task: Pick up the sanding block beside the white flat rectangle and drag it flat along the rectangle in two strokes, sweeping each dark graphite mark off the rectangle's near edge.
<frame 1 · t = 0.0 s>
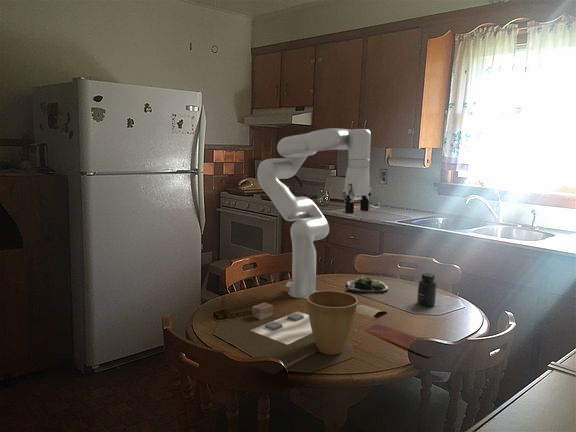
hand: (357, 212, 169), 37 cm above the table, tool pointing down, fingers open, 9 cm apart
clay tablet: (367, 316, 170), on the table
plant pot: (330, 350, 140), on the table
sanding block: (262, 319, 163), on the table
graphite mark a: (295, 318, 161), point 1 cm above the table, touching white flat rectangle
white flat rectangle: (293, 329, 154), on the table
wooden tablet: (401, 341, 148), on the table
supplement bottle: (426, 304, 182), on the table
salad plate: (366, 289, 202), on the table
graphite mark b: (273, 327, 153), point 1 cm above the table, touching white flat rectangle
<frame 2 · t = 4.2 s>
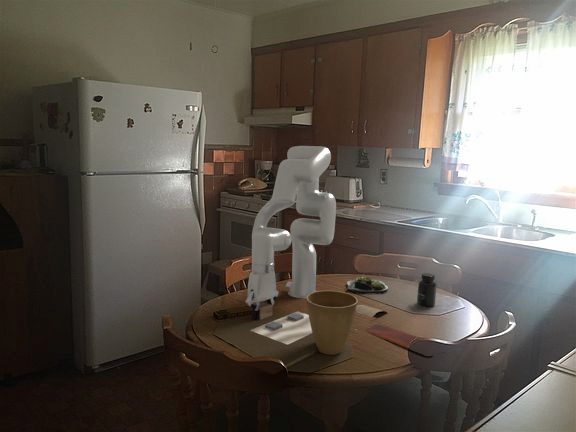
hand: (262, 317, 163), 1 cm above the table, tool pointing down, fingers closed on sanding block, 6 cm apart
sanding block: (262, 319, 163), on the table, touching gripper
everything else where it was.
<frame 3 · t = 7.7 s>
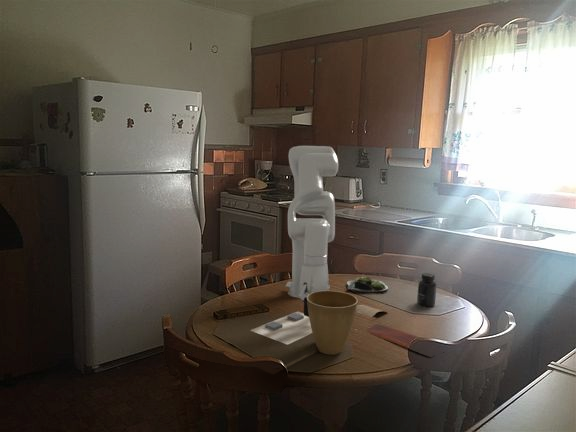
hand: (314, 312, 155), 6 cm above the table, tool pointing down, fingers closed on sanding block, 6 cm apart
sanding block: (314, 314, 155), point 5 cm above the table, touching gripper
everything else where it was.
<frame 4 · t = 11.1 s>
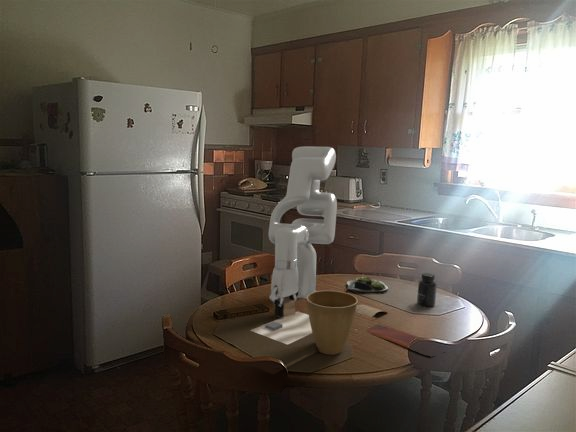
hand: (285, 313, 164), 2 cm above the table, tool pointing down, fingers closed on sanding block, 6 cm apart
sanding block: (285, 315, 164), point 1 cm above the table, touching gripper
graphite mark a: (281, 319, 165), on the table
everything else where it was.
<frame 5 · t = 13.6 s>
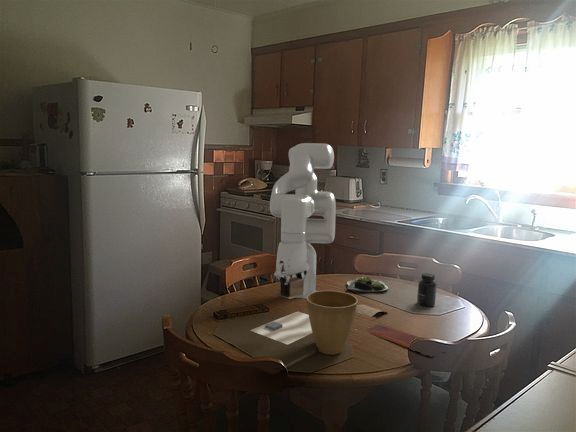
hand: (292, 293, 147), 14 cm above the table, tool pointing down, fingers closed on sanding block, 6 cm apart
sanding block: (292, 295, 147), point 14 cm above the table, touching gripper
everything else where it was.
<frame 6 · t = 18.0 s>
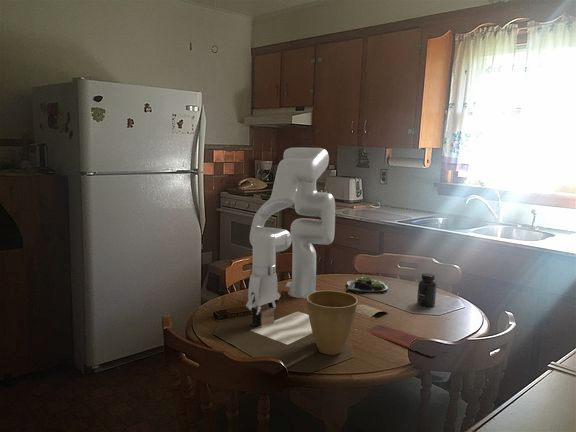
hand: (263, 321, 156), 2 cm above the table, tool pointing down, fingers closed on sanding block, 6 cm apart
sanding block: (263, 323, 156), point 1 cm above the table, touching gripper
graphite mark b: (259, 327, 157), on the table
everything else where it was.
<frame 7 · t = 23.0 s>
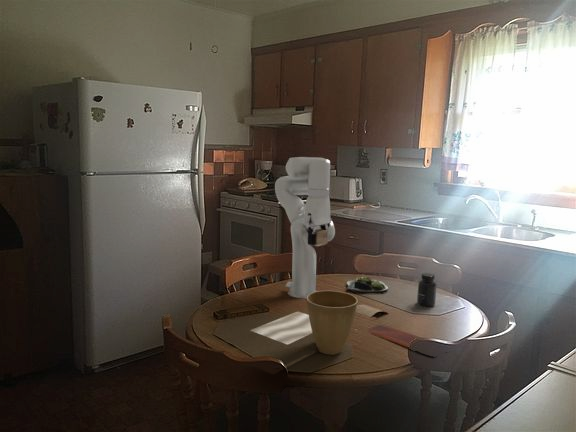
hand: (317, 242, 169), 25 cm above the table, tool pointing down, fingers closed on sanding block, 6 cm apart
sanding block: (317, 244, 169), point 25 cm above the table, touching gripper
at the end: graphite mark a inside the target area (5.1 cm from its centre), on the table; graphite mark b inside the target area (5.0 cm from its centre), on the table; the gripper is holding sanding block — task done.
